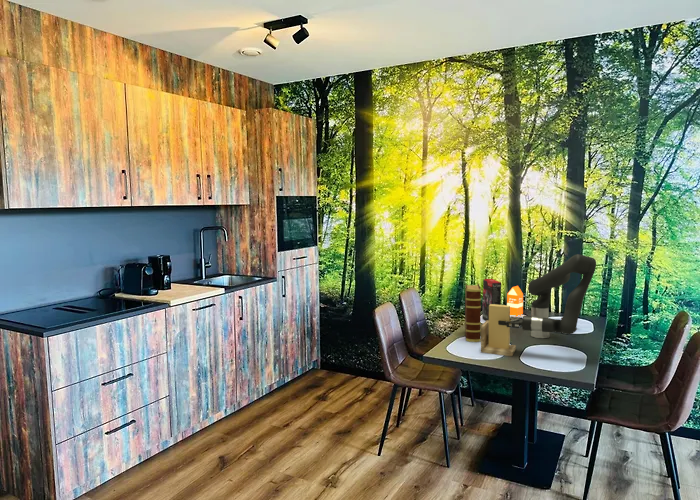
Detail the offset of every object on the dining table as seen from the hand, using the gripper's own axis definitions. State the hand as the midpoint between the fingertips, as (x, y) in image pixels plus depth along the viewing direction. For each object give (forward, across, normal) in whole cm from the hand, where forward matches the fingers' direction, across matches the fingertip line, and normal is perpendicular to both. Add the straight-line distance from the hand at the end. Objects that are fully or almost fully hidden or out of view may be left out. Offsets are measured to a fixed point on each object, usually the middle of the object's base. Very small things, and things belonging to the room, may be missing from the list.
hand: (499, 320), depth 250 cm
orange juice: (+6, -91, +16) cm, 92 cm away
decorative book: (+19, -22, +16) cm, 33 cm away
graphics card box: (+16, -65, +16) cm, 69 cm away
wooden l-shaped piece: (+1, 0, +16) cm, 16 cm away
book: (0, 0, +14) cm, 14 cm away
